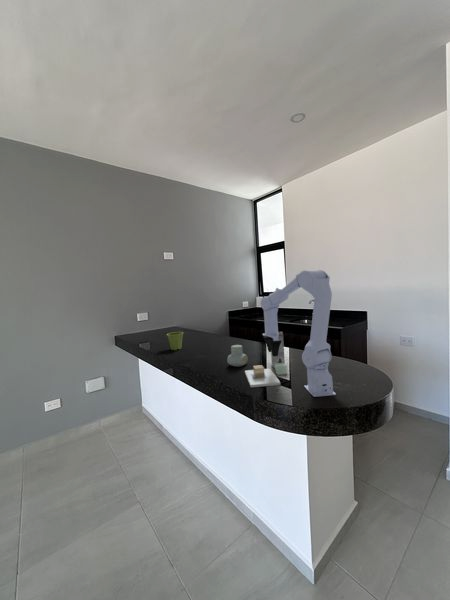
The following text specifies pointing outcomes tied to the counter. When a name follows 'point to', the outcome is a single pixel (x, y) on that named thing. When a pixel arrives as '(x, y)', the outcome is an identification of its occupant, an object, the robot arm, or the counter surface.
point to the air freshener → (237, 356)
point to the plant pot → (175, 340)
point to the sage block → (280, 368)
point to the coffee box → (281, 352)
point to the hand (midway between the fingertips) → (272, 353)
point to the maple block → (258, 371)
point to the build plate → (262, 379)
